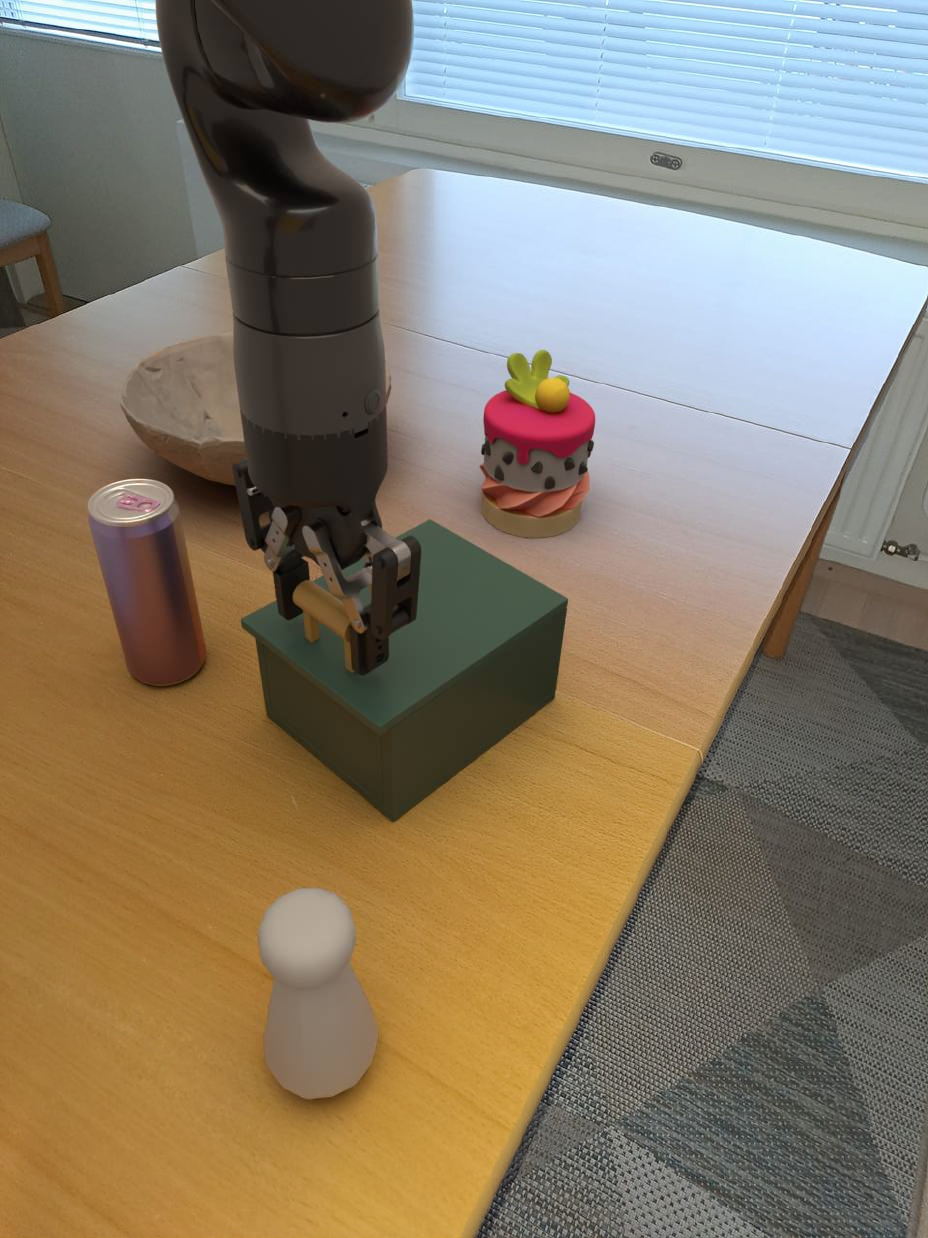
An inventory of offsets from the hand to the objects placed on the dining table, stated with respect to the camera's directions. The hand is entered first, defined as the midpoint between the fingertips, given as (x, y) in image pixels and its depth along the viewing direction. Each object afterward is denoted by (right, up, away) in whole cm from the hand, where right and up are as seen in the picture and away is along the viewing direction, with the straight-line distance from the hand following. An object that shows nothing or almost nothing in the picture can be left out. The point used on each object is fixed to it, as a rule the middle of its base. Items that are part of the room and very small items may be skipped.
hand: (331, 638), depth 57 cm
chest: (+4, -5, +11) cm, 13 cm away
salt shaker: (+1, -22, -9) cm, 24 cm away
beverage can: (-15, -2, +14) cm, 20 cm away
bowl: (-12, +17, +38) cm, 44 cm away
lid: (+4, +1, +5) cm, 7 cm away
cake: (+15, +12, +33) cm, 38 cm away
